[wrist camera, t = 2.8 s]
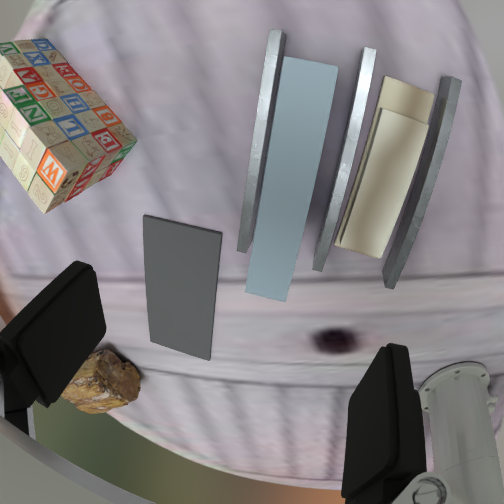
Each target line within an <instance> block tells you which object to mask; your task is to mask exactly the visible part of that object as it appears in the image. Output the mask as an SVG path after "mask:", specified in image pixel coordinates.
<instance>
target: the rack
mask: <svg viewBox="0 0 504 504" xmlns="http://www.w3.org/2000/svg"><path fill="white" fill-rule="evenodd" d="M285 41H286V34H285V33H284V32H283V31H282V30H276V29H270V32H269V38H268V44H267V50H266V57H265V63H264V69H263V75H262V82H261V88H260V95H259V101H258V108H257V114H256V121H255V127H254V134H253V141H252V147H251V154H250V161H249V168H248V174H247V181H246V188H245V195H244V202H243V209H242V216H241V223H240V230H239V238H238V245H237V251H239V252H243V253H246V252H247V250H248V248H249V246H250V244H251V242H252V240H253V234H254V228H255V222H256V216H257V210H258V204H259V198H260V192H261V186H262V180H263V173H264V167H265V161H266V155H267V149H268V143H269V137H270V131H271V125H272V119H273V113H274V107H275V101H276V95H277V89H278V83H279V77H280V71H281V65H282V59H283V53H284V47H285ZM375 56H376V50H374V49H371V48H367V47H364V48H363V50H362V51H361V57H360V62H359V68H358V73H357V78H356V83H355V88H354V93H353V98H352V103H351V108H350V113H349V117H348V122H347V126H346V131H345V136H344V140H343V144H342V149H341V153H340V157H339V162H338V166H337V170H336V174H335V178H334V182H333V186H332V190H331V194H330V198H329V202H328V206H327V210H326V214H325V218H324V221H323V225H322V229H321V233H320V236H319V240H318V244H317V247H316V251H315V254H314V261H313V269H312V270H316V271H320V272H322V270H323V267H324V263H325V260H326V257H327V253H328V250H329V247H330V243H331V240H332V237H333V233H334V230H335V226H336V223H337V219H338V216H339V212H340V208H341V205H342V201H343V197H344V194H345V190H346V186H347V182H348V178H349V174H350V170H351V166H352V162H353V158H354V154H355V150H356V146H357V142H358V138H359V133H360V129H361V125H362V120H363V116H364V111H365V106H366V102H367V97H368V92H369V87H370V82H371V77H372V72H373V67H374V61H375ZM461 82H462V81H461V80H459V79H457V78H454V77H441V82H440V87H439V91H438V96H437V101H436V105H435V109H434V114H433V118H432V122H431V126H430V130H429V134H428V137H427V141H426V145H425V149H424V152H423V156H422V159H421V163H420V166H419V169H418V173H417V176H416V179H415V182H414V186H413V189H412V192H411V195H410V198H409V201H408V204H407V207H406V210H405V213H404V216H403V218H402V221H401V224H400V227H399V230H398V232H397V235H396V238H395V240H394V243H393V246H392V248H391V251H390V254H389V256H388V259H387V261H386V264H385V266H384V269H383V271H382V274H383V279H384V284H385V288H390V289H394V287H395V285H396V283H397V281H398V278H399V276H400V274H401V272H402V269H403V267H404V265H405V262H406V260H407V257H408V255H409V253H410V250H411V248H412V245H413V243H414V240H415V238H416V235H417V233H418V230H419V227H420V225H421V222H422V219H423V217H424V214H425V211H426V208H427V206H428V203H429V200H430V197H431V194H432V191H433V188H434V185H435V182H436V179H437V176H438V172H439V169H440V166H441V163H442V159H443V156H444V152H445V149H446V145H447V142H448V138H449V134H450V131H451V127H452V123H453V119H454V115H455V110H456V106H457V101H458V97H459V92H460V87H461Z"/></svg>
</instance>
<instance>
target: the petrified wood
mask: <svg viewBox="0 0 504 504" xmlns="http://www.w3.org/2000/svg"><path fill="white" fill-rule="evenodd" d="M140 379H141V378H140V375H139V374H138V373H137V370H136V368H135V367H134V366H132V365H131V364H130V363H129V362H124V363H122V362H121V360H120V359H119V358H118V357H117V355H115V354H114V353H112V352H111V351H110V350H101V351H98V352H96V353H92V354H90V355H89V357H88V358H87V359H86V361H85V362H84V364H83V365H82V366H81V368H80V369H79V370H78V372H77V373H76V374H75V376H74V377H73V379H72V380H71V381H70V383H69V384H68V386H67V387H66V388H65V390H64V391H63V393H62V394H61V395H62V396H63V398H64V399H66V400H68V402H71V403H74V405H75V407H77V409H78V410H82V411H84V412H87V413H89V414H93V413H102V412H106V411H109V410H111V409H112V408H117V407H121V406H125V405H128V403H129V402H132V401H134V400H136V399H137V397H138V394H139V391H140Z"/></svg>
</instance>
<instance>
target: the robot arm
mask: <svg viewBox="0 0 504 504" xmlns="http://www.w3.org/2000/svg"><path fill="white" fill-rule="evenodd" d="M105 333H106V323H105V318H104V314H103V309H102V304H101V299H100V294H99V288H98V283H97V277H96V272H95V271H94V270H93V267H92V266H91V265H89V264H87V263H84V262H81V261H74V262H73V263H72V264H71V265H69V266H68V267H67V268H66V269H65V270H64V271H63V272H62V273H60V274H59V275H58V276H57V277H56V278H55V279H54V280H53V281H52V282H51V283H50V284H49V285H47V286H46V287H45V288H44V289H43V290H42V291H41V292H40V293H39V294H38V295H37V296H36V297H35V298H34V299H33V300H32V301H31V302H30V303H29V304H28V305H27V306H26V307H24V308H23V309H22V310H21V311H20V312H19V313H18V314H17V315H16V316H15V317H14V318H13V320H12V321H11V322H10V323H9V324H8V325H7V326H6V327H5V328H4V329H3V330H2V331H1V332H0V504H156V503H154V502H151V501H149V500H146V499H143V498H141V497H139V496H137V495H134V494H132V493H129V492H127V491H125V490H123V489H120V488H118V487H116V486H114V485H112V484H110V483H108V482H106V481H104V480H102V479H100V478H98V477H96V476H94V475H92V474H90V473H88V472H87V471H85V470H83V469H81V468H79V467H78V466H76V465H74V464H72V463H71V462H69V461H67V460H65V459H64V458H62V457H60V456H59V455H57V454H56V453H54V452H52V451H51V450H49V449H48V448H46V447H44V446H43V445H41V444H40V443H38V442H37V441H36V439H35V432H34V421H33V410H32V404H33V403H34V401H35V400H36V401H37V402H38V403H40V404H42V405H43V406H45V407H46V408H48V407H49V406H50V404H51V403H54V402H56V401H57V400H58V398H59V397H60V395H61V394H62V393H63V391H64V390H65V388H66V387H67V386H68V384H69V383H70V381H71V380H72V379H73V377H74V376H75V374H76V373H77V372H78V370H79V369H80V368H81V366H82V365H83V364H84V362H85V361H86V359H87V358H88V357H89V355H90V354H91V353H92V351H93V350H94V349H95V347H96V346H97V345H98V344H99V342H100V341H101V340H102V338H103V337H104V335H105ZM489 381H490V376H489V373H488V371H487V369H486V368H485V367H484V366H483V365H481V364H478V363H473V362H465V363H459V364H455V365H452V366H449V367H446V368H444V369H442V370H440V371H438V372H437V373H435V374H434V375H432V376H431V377H430V378H428V379H427V380H426V381H425V382H424V383H423V385H422V386H421V388H420V389H419V391H417V390H414V386H413V379H412V372H411V365H410V358H409V352H408V348H407V347H406V346H403V345H398V344H393V343H389V344H387V346H386V347H381V348H380V349H379V351H378V353H377V355H376V356H375V358H374V360H373V361H372V363H371V365H370V366H369V368H368V370H367V371H366V373H365V375H364V376H363V378H362V380H361V381H360V383H359V384H358V386H357V388H356V389H355V391H354V392H353V394H352V396H351V398H350V400H349V405H348V422H347V437H346V450H345V462H344V472H343V481H342V490H341V496H342V498H346V500H345V504H504V487H503V481H502V475H501V469H500V462H499V457H498V451H497V446H496V440H495V435H494V431H493V426H492V421H491V417H490V414H492V413H493V412H494V410H495V404H494V403H496V402H497V401H498V396H497V395H489V393H488V390H487V387H488V385H489ZM422 410H423V411H425V412H428V413H429V419H430V428H431V438H432V449H433V462H434V472H427V467H426V451H425V438H424V427H423V417H422Z"/></svg>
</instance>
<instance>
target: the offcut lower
mask: <svg viewBox="0 0 504 504" xmlns="http://www.w3.org/2000/svg"><path fill="white" fill-rule="evenodd" d="M434 96H435V95H434V94H432V93H429V92H427V91H424V90H422V89H419V88H417V87H414V86H412V85H409V84H407V83H404V82H401V81H399V80H396V79H393V78H390V77H387V76H384V78H383V82H382V86H381V90H380V94H379V98H378V101H377V105H376V109H375V113H374V116H373V120H372V124H371V127H370V131H369V134H368V138H367V141H366V145H365V148H364V152H363V155H362V158H361V162H360V165H359V168H358V171H357V175H356V178H355V181H354V184H353V187H352V191H351V194H350V197H349V200H348V203H347V206H346V209H345V212H344V215H343V218H342V221H341V224H340V227H339V230H338V233H337V236H336V238H335V241H334V246H338V247H341V246H340V236H341V233H342V230H343V227H344V225H345V222H346V219H347V216H348V213H349V210H350V207H351V204H352V201H353V198H354V194H355V191H356V188H357V185H358V182H359V179H360V176H361V172H362V169H363V166H364V162H365V159H366V156H367V152H368V149H369V146H370V142H371V139H372V135H373V132H374V128H375V124H376V121H377V117H378V113H379V110H380V107H381V108H384V109H387V110H390V111H393V112H395V113H398V114H401V115H404V116H406V117H409V118H412V119H414V120H417V121H419V122H422V123H424V124H427V121H428V118H429V114H430V111H431V107H432V104H433V100H434ZM341 248H344V249H348V248H345V247H341ZM348 250H351V251H355V250H352V249H348ZM355 252H358V253H361V254H365V253H362V252H359V251H355ZM365 255H368V256H371V257H375V258H378V257H376V256H372V255H369V254H365Z"/></svg>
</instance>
